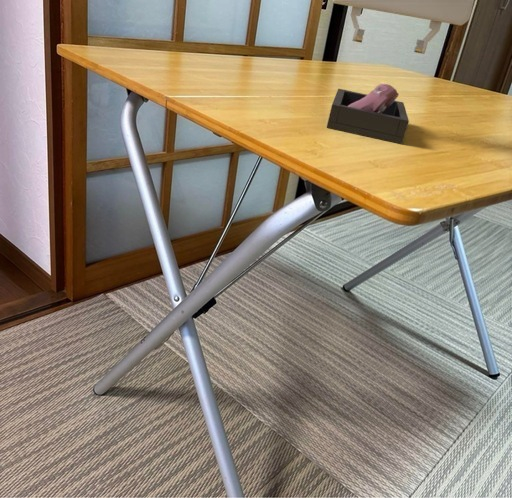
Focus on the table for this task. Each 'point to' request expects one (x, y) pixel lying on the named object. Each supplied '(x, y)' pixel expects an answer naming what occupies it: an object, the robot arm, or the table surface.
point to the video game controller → (377, 99)
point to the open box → (368, 118)
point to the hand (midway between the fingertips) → (387, 47)
